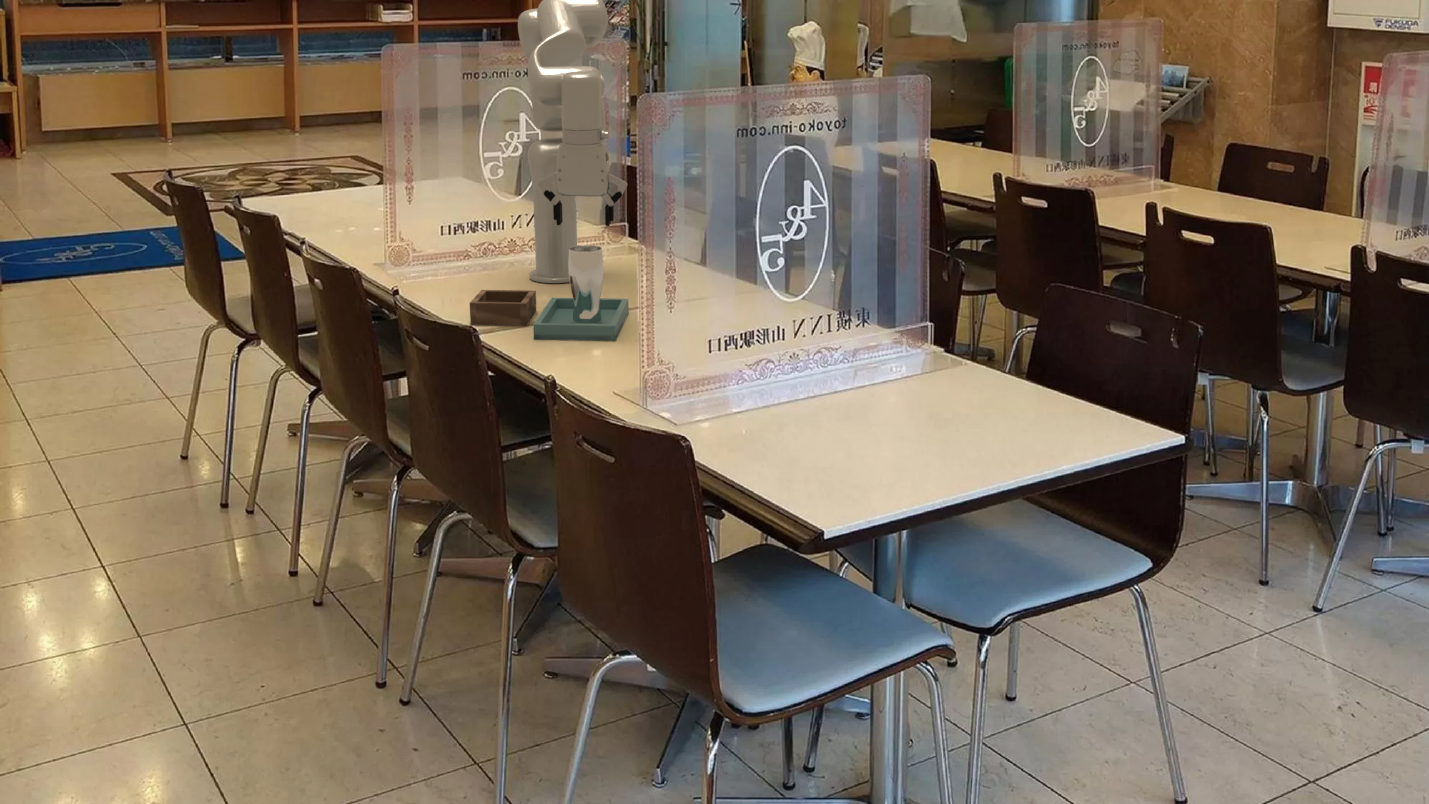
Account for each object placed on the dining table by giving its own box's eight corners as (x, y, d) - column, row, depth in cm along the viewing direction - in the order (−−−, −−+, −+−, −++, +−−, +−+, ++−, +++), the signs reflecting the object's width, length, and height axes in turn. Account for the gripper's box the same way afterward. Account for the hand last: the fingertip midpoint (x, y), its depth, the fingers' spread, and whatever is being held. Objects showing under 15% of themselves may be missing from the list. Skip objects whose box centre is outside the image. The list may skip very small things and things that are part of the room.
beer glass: (599, 327, 296) (597, 252, 291) (565, 325, 297) (563, 251, 292) (608, 318, 302) (607, 245, 297) (575, 316, 303) (573, 244, 299)
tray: (552, 311, 312) (551, 297, 311) (628, 312, 311) (628, 298, 310) (533, 339, 291) (533, 324, 290) (615, 340, 290) (615, 325, 289)
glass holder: (482, 310, 312) (481, 289, 311) (536, 311, 311) (535, 290, 310) (470, 324, 301) (469, 303, 300) (526, 325, 301) (525, 304, 299)
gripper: (628, 134, 291) (629, 221, 297) (540, 133, 292) (543, 219, 298) (624, 141, 284) (625, 229, 290) (534, 139, 285) (537, 227, 291)
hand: (583, 224), depth 294 cm, fingers open, 9 cm apart
